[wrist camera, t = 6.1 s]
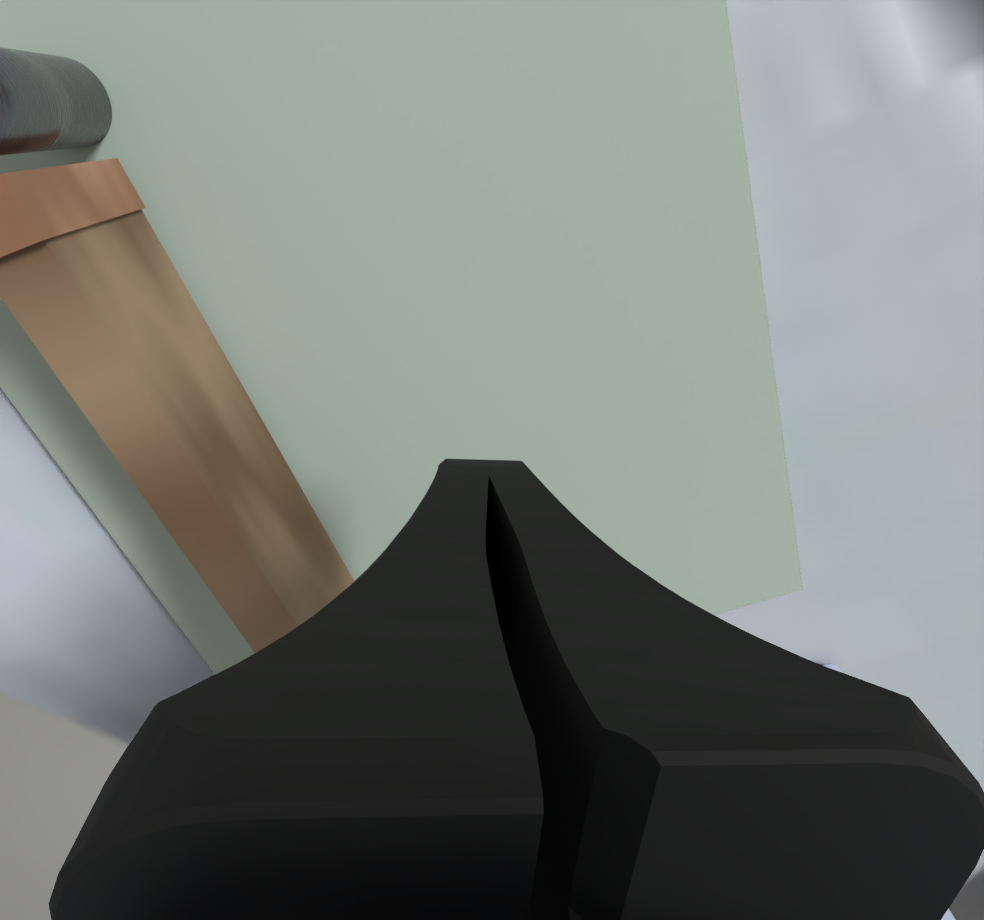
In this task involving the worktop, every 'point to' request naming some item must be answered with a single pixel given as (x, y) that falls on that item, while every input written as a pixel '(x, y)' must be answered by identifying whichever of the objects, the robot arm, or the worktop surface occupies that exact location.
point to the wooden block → (162, 392)
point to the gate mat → (446, 267)
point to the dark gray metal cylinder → (49, 103)
